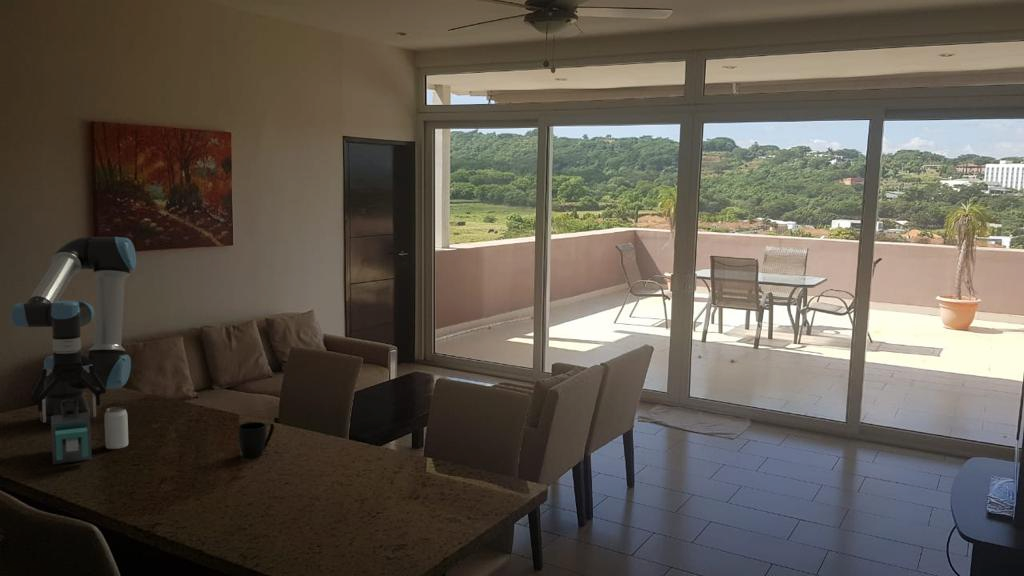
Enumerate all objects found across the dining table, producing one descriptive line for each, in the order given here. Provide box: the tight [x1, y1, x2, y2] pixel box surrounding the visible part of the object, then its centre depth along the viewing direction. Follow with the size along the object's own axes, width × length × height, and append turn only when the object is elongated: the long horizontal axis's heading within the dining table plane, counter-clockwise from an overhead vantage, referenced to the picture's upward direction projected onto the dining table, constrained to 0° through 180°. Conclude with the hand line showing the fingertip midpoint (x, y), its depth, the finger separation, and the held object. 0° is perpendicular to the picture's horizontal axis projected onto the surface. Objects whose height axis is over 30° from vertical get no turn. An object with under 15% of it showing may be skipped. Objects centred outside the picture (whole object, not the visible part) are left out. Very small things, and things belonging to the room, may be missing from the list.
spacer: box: [55, 427, 88, 460], centre depth 227 cm, size 4×8×8 cm, turn 120°
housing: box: [50, 412, 93, 465], centre depth 235 cm, size 10×10×12 cm
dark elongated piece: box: [61, 399, 78, 452], centre depth 234 cm, size 26×4×9 cm, turn 30°
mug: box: [237, 421, 275, 460], centre depth 242 cm, size 8×12×10 cm
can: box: [104, 406, 129, 450], centre depth 246 cm, size 6×6×12 cm
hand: (70, 418), depth 243 cm, fingers open, 13 cm apart
